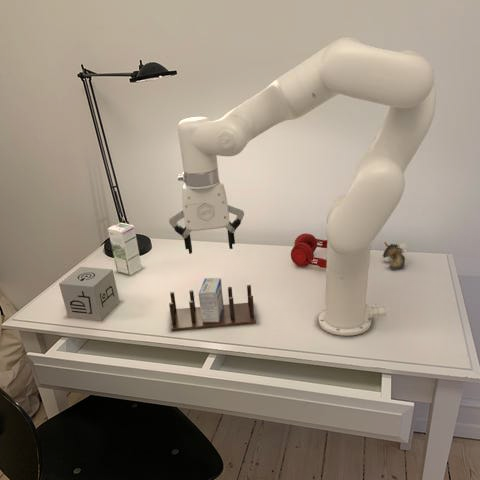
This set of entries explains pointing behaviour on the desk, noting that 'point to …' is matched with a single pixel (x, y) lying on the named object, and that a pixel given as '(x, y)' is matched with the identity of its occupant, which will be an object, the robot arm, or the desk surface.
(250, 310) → the plate rack
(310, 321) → the desk surface
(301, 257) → the headphones
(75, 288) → the icon cube
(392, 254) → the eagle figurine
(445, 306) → the desk surface
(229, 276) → the desk surface
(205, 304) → the medicine box
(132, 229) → the syrup box
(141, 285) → the desk surface
